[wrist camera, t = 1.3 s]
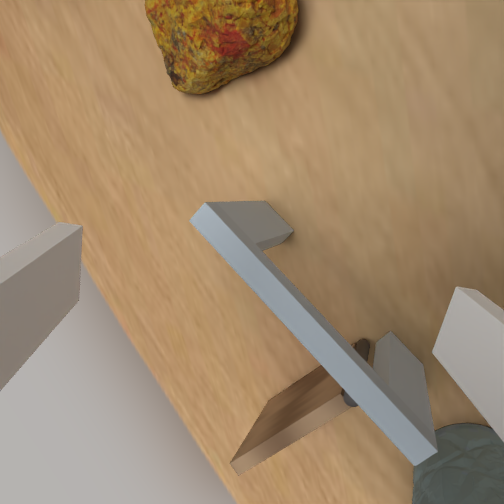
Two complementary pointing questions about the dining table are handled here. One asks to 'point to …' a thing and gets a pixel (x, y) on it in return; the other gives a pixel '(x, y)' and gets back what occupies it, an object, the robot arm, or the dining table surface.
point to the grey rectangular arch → (324, 327)
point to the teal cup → (462, 468)
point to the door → (295, 414)
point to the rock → (219, 38)
